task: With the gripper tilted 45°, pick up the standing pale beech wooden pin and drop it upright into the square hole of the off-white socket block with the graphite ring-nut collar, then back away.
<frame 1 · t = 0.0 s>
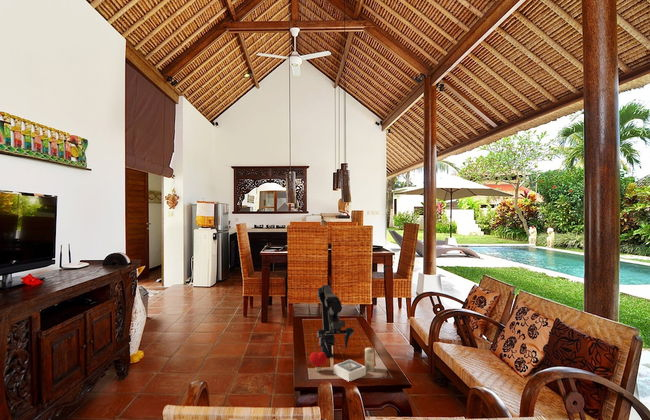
hand: (337, 349, 171), 15 cm above the table, tool tilted 35°, fingers open, 9 cm apart
beech pin: (369, 369, 182), on the table
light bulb: (318, 371, 180), on the table
socket block: (349, 374, 177), on the table
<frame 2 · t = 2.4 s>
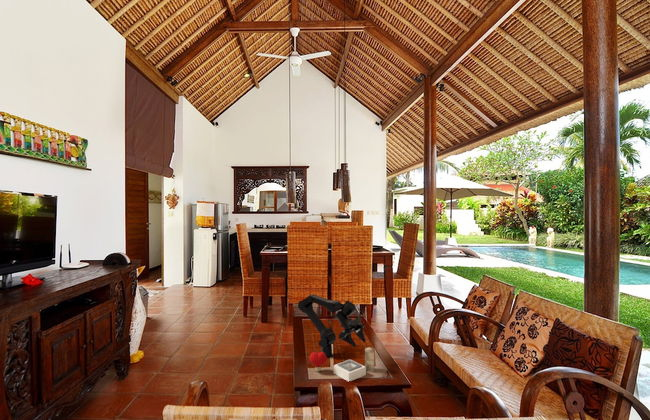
hand: (360, 344, 186), 12 cm above the table, tool tilted 45°, fingers open, 9 cm apart
nothing on the table moved.
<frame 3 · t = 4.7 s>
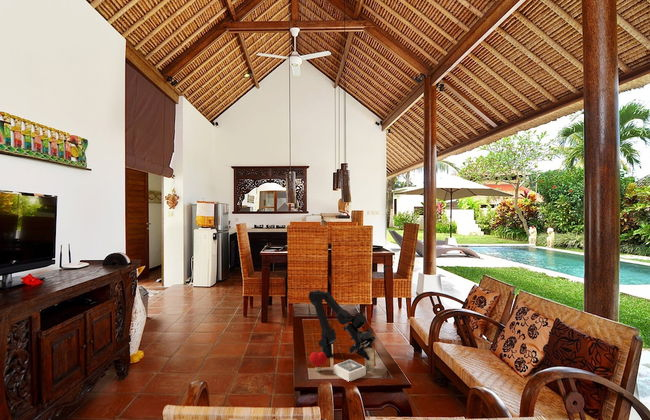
hand: (371, 358, 181), 7 cm above the table, tool tilted 45°, fingers closed on beech pin, 5 cm apart
beech pin: (369, 369, 182), on the table, touching gripper
everything else where it was.
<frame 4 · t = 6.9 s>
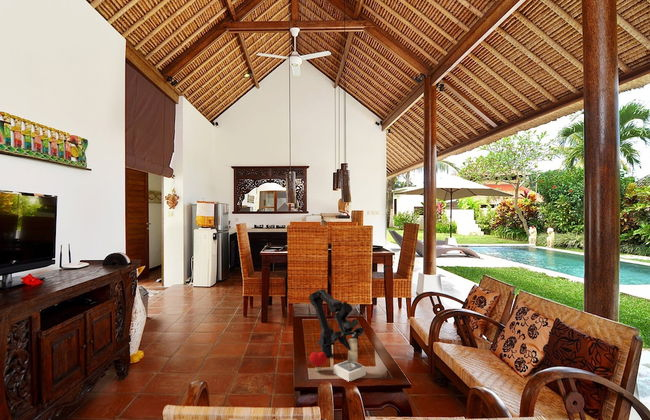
hand: (354, 348, 176), 13 cm above the table, tool tilted 45°, fingers closed on beech pin, 5 cm apart
beech pin: (352, 360, 177), point 7 cm above the table, touching gripper
everything else where it was.
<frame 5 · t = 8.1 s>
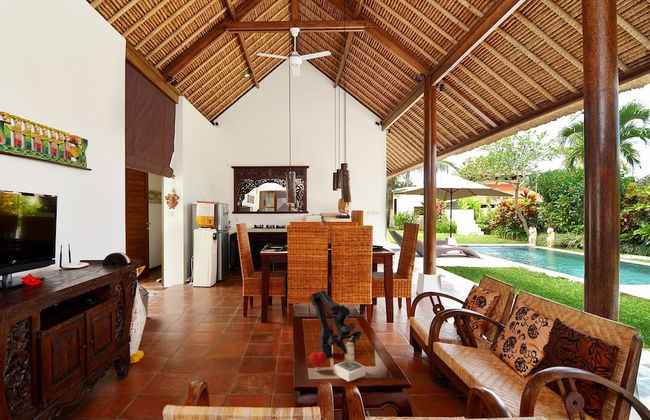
hand: (350, 352, 176), 12 cm above the table, tool tilted 45°, fingers closed on beech pin, 5 cm apart
beech pin: (349, 364, 177), point 5 cm above the table, touching gripper
everything else where it was.
when the fingers open (8 cm above the table, at t = 9.2 s): beech pin drops 1 cm, resting in socket block.
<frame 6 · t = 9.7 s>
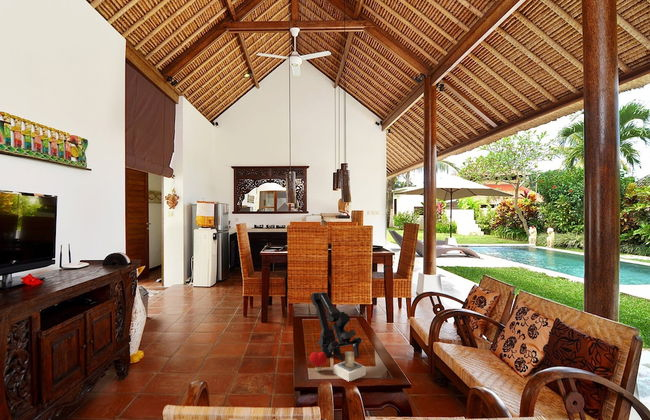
hand: (350, 359, 176), 8 cm above the table, tool tilted 45°, fingers open, 9 cm apart
beech pin: (349, 374, 177), resting in socket block
everything else where it was.
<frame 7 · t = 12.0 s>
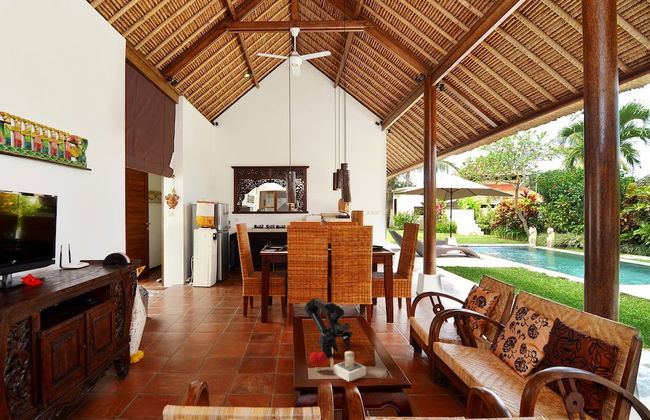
hand: (343, 350, 185), 9 cm above the table, tool tilted 40°, fingers open, 9 cm apart
nothing on the table moved.
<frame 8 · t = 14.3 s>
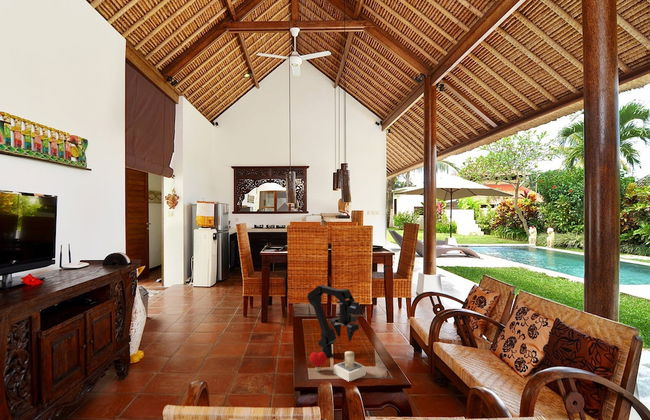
hand: (344, 339, 192), 13 cm above the table, tool pointing down, fingers open, 9 cm apart
nothing on the table moved.
at the end: beech pin 0.0 cm off-centre on the socket block, point 0.0 cm above the socket block's base; beech pin tilted 0°; the gripper is holding nothing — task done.
